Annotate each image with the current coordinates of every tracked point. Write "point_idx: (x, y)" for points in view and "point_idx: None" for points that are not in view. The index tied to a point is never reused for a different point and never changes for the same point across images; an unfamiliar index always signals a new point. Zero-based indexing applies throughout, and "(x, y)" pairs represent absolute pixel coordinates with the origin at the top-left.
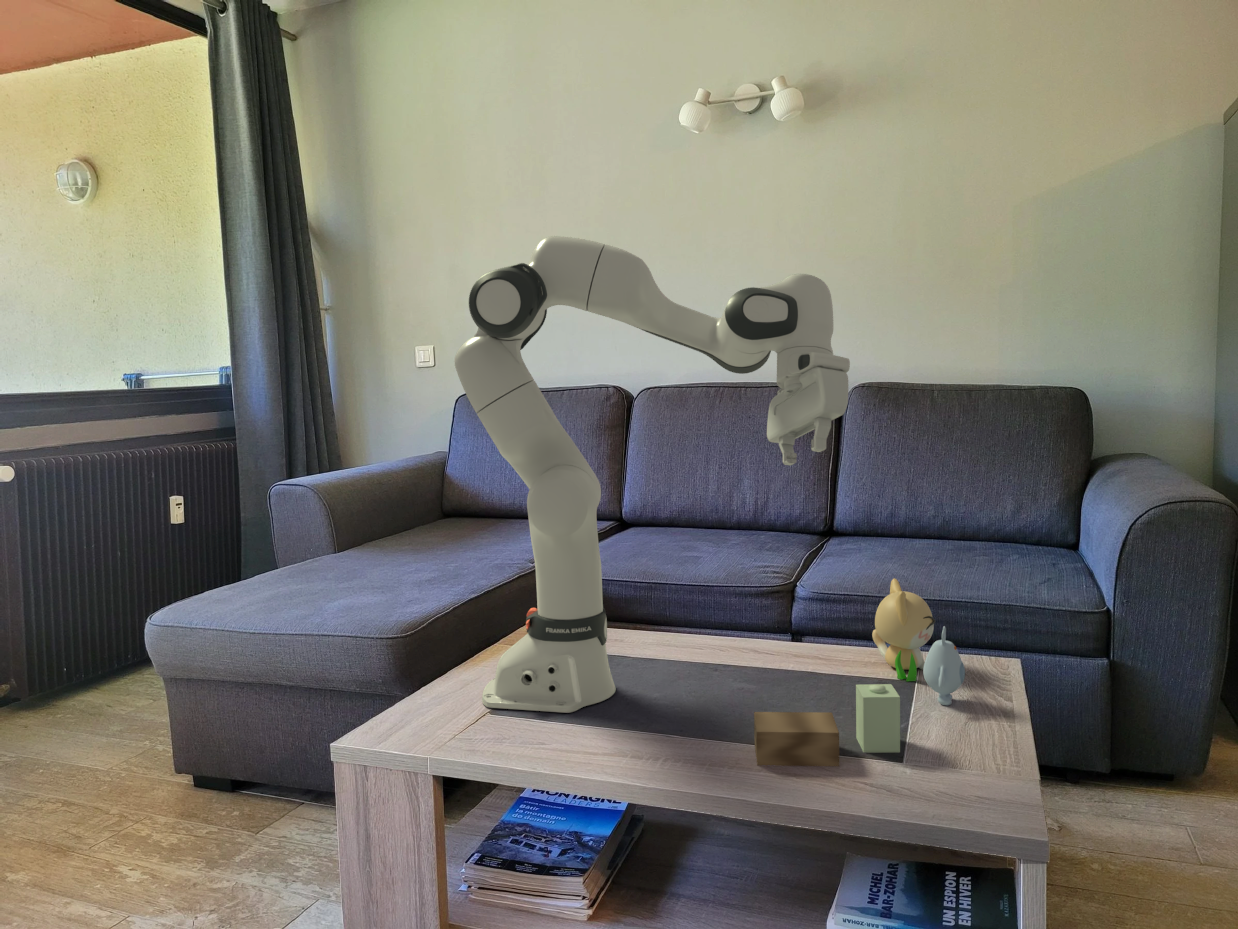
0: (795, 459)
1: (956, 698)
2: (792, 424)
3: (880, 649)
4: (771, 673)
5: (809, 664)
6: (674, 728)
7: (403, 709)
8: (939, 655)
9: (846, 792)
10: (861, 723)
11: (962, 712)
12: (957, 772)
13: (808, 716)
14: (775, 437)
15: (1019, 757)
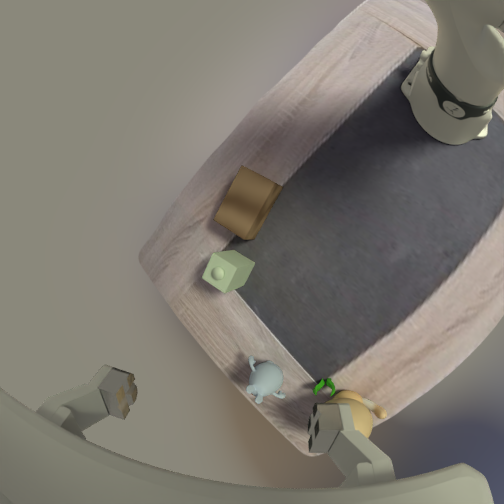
0: (309, 432)
1: None
2: (203, 491)
3: (370, 402)
4: (410, 296)
5: (406, 342)
6: (339, 144)
7: None
8: (254, 376)
9: (198, 202)
10: (230, 254)
11: None
12: (189, 280)
13: (246, 217)
14: (410, 477)
15: (188, 326)
